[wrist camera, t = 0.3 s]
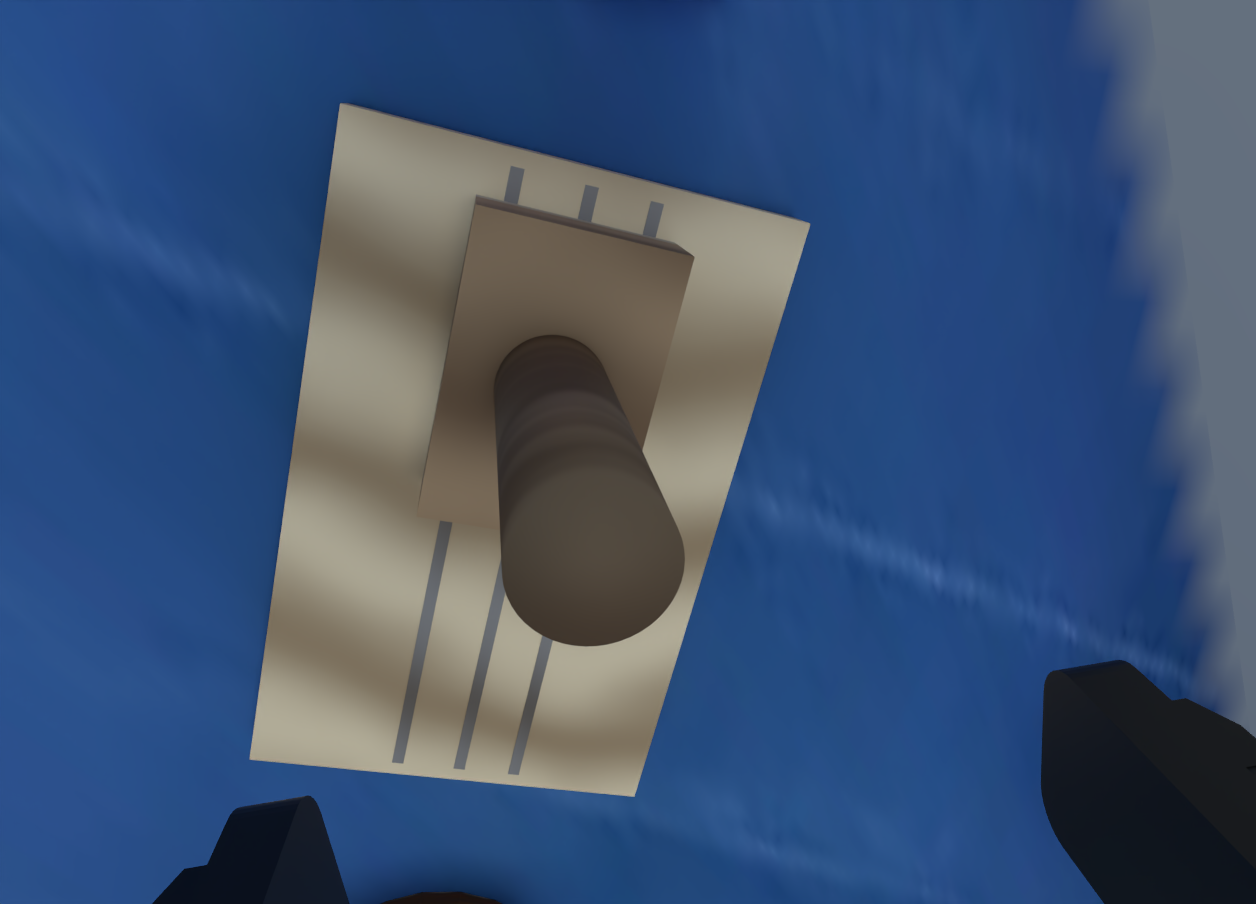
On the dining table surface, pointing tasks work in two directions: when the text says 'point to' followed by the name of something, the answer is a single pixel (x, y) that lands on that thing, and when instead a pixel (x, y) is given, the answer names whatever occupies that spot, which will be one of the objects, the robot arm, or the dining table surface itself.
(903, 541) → the dining table surface
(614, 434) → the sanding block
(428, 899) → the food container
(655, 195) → the pine board
